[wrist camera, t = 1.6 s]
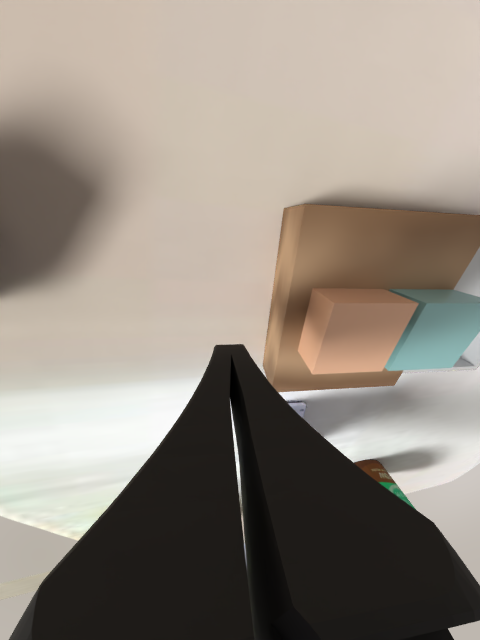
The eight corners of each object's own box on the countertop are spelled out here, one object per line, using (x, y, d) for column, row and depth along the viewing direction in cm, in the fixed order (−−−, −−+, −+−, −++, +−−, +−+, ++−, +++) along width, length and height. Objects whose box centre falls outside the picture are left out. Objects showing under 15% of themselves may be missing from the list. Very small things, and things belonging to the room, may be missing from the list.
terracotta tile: (357, 348, 15) (382, 371, 12) (297, 350, 14) (312, 374, 12) (383, 288, 12) (418, 303, 10) (312, 288, 12) (334, 303, 10)
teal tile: (417, 347, 15) (451, 368, 13) (363, 348, 15) (388, 370, 12) (453, 289, 13) (501, 303, 11) (389, 288, 12) (426, 303, 10)
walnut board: (367, 360, 20) (394, 385, 17) (262, 365, 19) (271, 392, 16) (436, 217, 14) (498, 216, 11) (283, 208, 12) (305, 204, 9)
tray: (449, 354, 21) (476, 369, 19) (373, 357, 20) (392, 373, 18) (540, 231, 15) (594, 232, 13) (438, 225, 14) (478, 226, 12)
